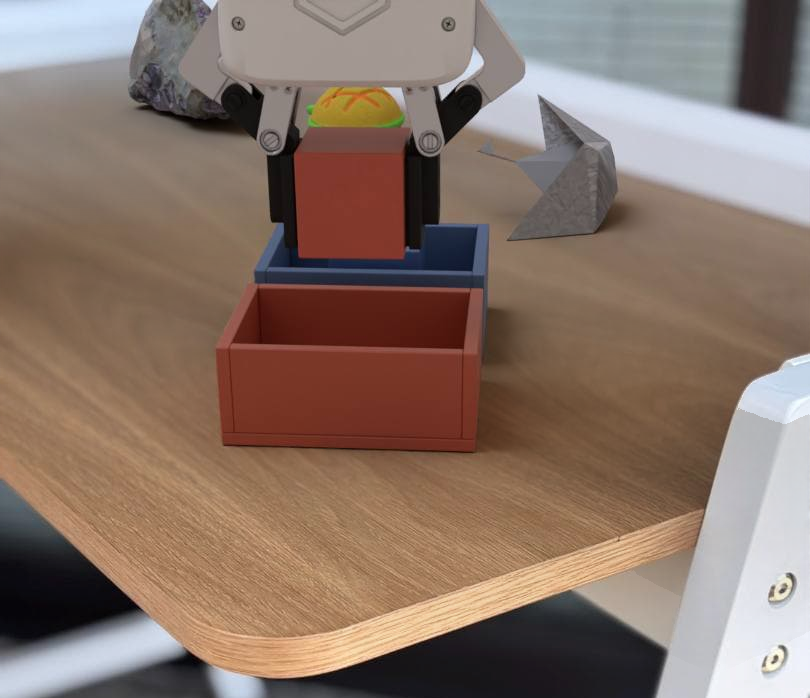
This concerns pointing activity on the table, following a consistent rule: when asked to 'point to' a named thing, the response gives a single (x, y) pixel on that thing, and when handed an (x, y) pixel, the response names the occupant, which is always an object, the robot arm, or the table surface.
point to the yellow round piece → (355, 108)
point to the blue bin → (444, 268)
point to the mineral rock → (169, 59)
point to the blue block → (385, 262)
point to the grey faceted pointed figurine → (566, 177)
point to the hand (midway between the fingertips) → (356, 235)
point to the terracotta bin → (352, 367)
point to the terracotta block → (351, 192)
